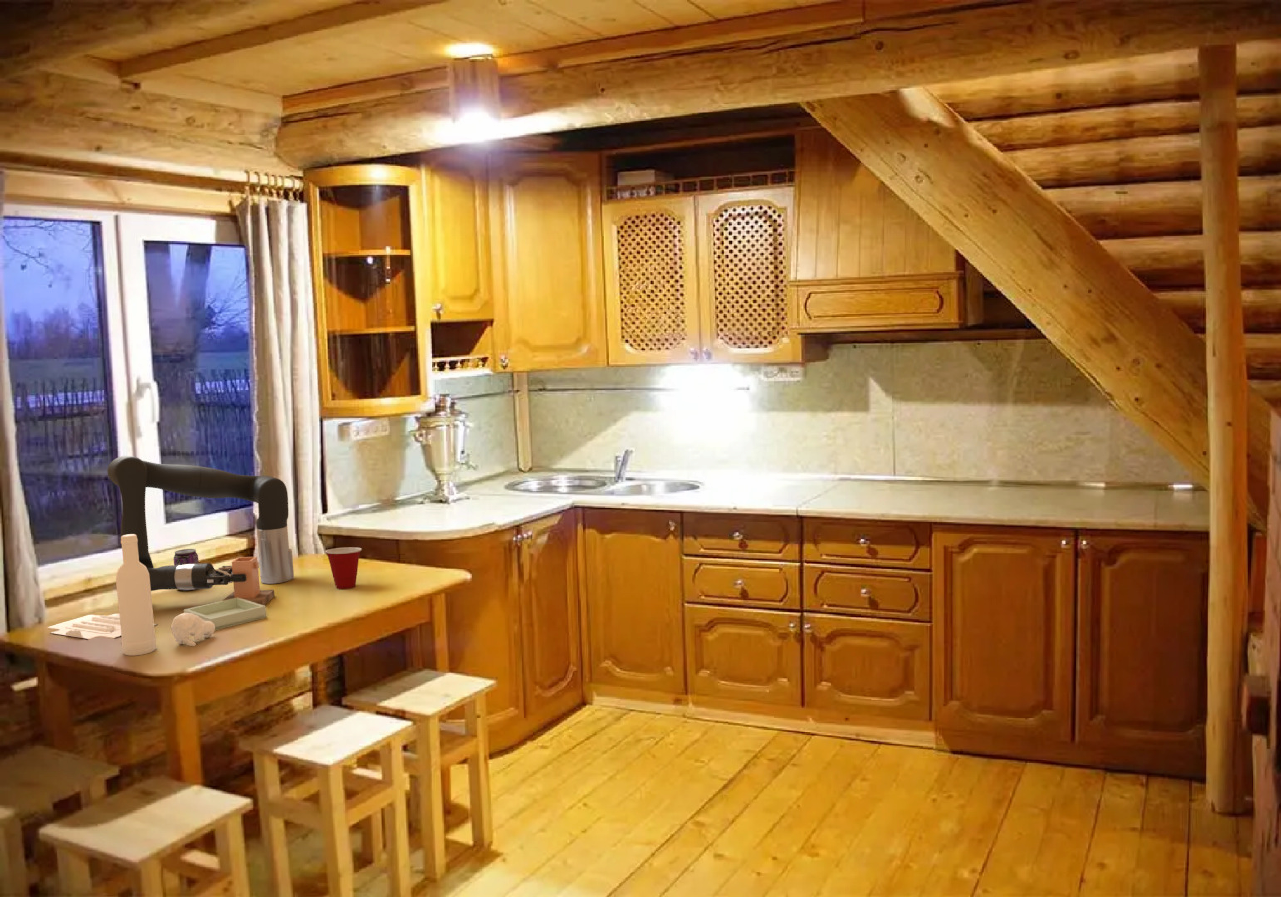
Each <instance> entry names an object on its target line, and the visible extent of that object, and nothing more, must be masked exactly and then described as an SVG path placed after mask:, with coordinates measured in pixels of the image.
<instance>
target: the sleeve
mask: <svg viewBox="0 0 1281 897" xmlns="http://www.w3.org/2000/svg"><path fill="white" fill-rule="evenodd" d="M231 566H232V571H233V574H246V581H245V582H233V581H232V582H233V583H232V584H233V592H234V595H235V598H237V597H238V598H255V597H256V596H257V595H258V594H260V590H261V589H260V575H259V569H260V563H259V561H258V556H243V557H241V556H240V557H237V558H235V559H234V560H232V561H231Z"/></svg>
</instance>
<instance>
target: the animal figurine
mask: <svg viewBox="0 0 1281 897" xmlns="http://www.w3.org/2000/svg"><path fill="white" fill-rule="evenodd" d="M170 630H171V631H172V636H173V637H174V639H175V642H176V643H178V644H179V645H183V644H185V645H187V646H188V647H195V646H196V645H197V644H196V642H195V641H197V640H199V639H200V638H201V637H205V638H206V639H207V638H212V637H213V634H214V632H215V631H216V630H215V625H214V623H213V622H211V621H204V620H203V619H202V618H199V616H197V615H194V614H192V613H184V612H183V613H180V614H178V615H176V616H175V617H173V620H172V622H171V626H170ZM189 636H193V639H194V640H195V641H194V640H192V639H189Z"/></svg>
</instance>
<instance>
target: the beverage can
mask: <svg viewBox="0 0 1281 897" xmlns="http://www.w3.org/2000/svg"><path fill="white" fill-rule="evenodd" d="M199 561H200V560H199V554H198V553H197V550H196V548H184V549H183V548H182V549H179V550H175V551H174V556H173V565H183V564H196V563H199ZM178 590H180V591H185V592H187V591H194V590H195V589H190V590H185V589H178Z"/></svg>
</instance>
